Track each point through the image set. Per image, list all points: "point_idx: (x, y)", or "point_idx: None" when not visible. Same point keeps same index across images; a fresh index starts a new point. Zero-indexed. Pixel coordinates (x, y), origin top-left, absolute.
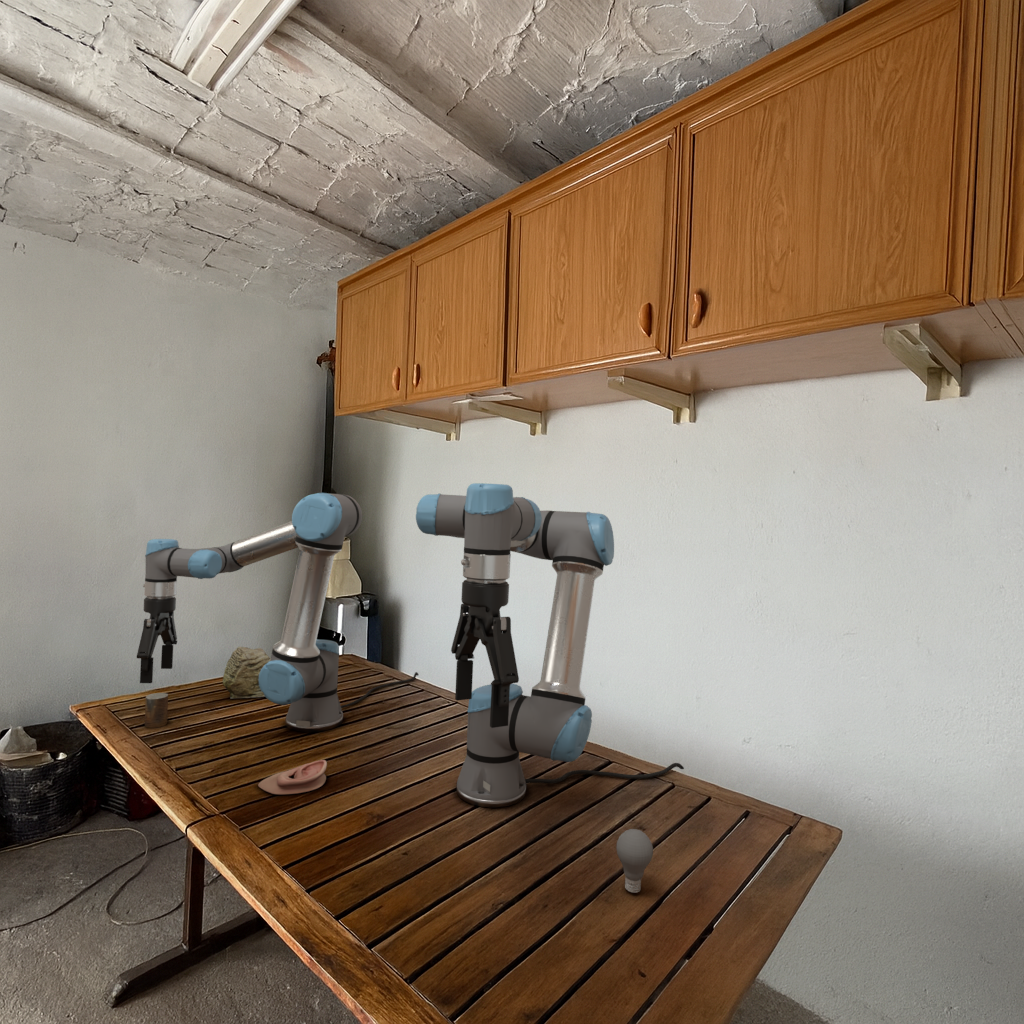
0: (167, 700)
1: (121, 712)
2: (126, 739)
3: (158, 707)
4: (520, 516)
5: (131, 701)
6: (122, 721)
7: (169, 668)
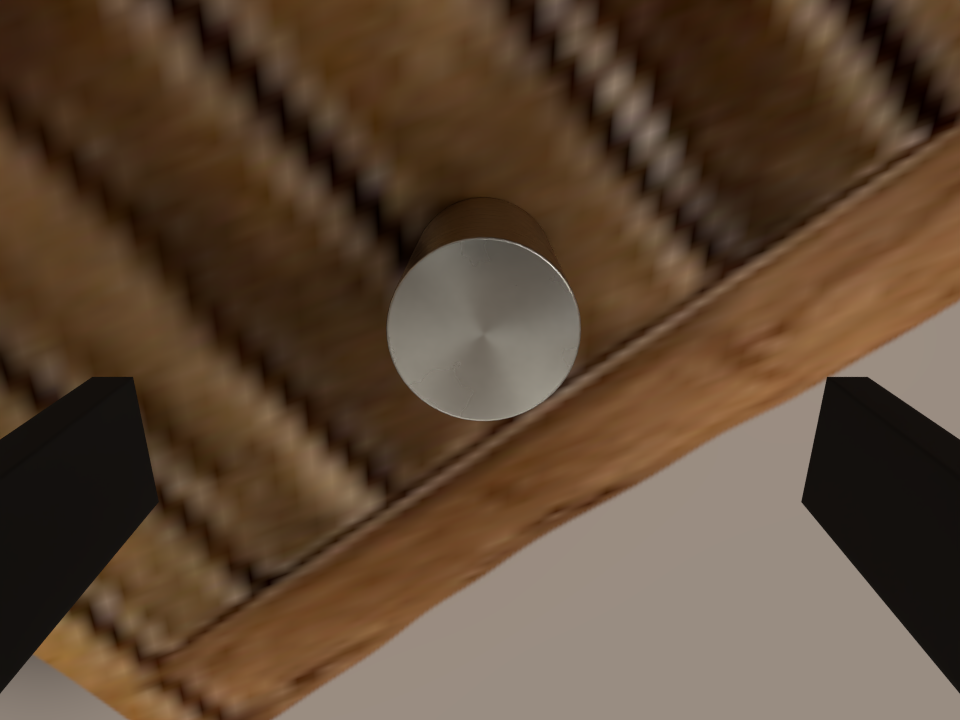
0: (481, 227)
1: (267, 543)
2: (748, 340)
3: (560, 266)
4: None
5: None
6: (425, 480)
7: (136, 402)
